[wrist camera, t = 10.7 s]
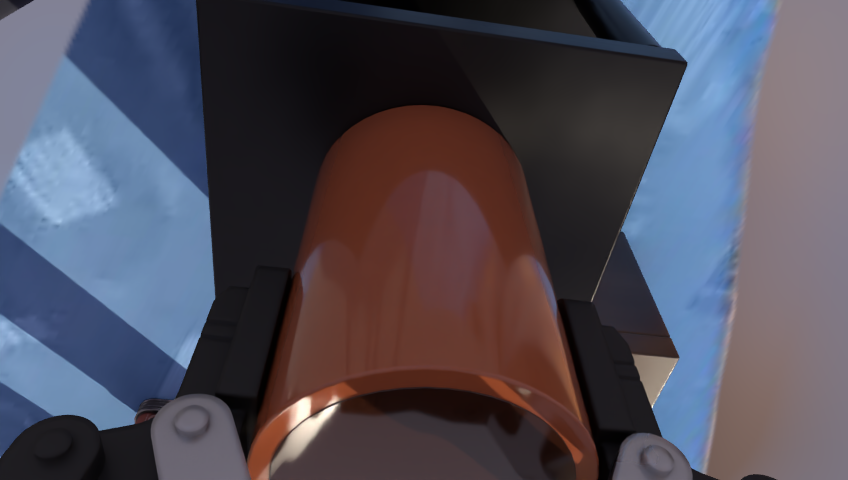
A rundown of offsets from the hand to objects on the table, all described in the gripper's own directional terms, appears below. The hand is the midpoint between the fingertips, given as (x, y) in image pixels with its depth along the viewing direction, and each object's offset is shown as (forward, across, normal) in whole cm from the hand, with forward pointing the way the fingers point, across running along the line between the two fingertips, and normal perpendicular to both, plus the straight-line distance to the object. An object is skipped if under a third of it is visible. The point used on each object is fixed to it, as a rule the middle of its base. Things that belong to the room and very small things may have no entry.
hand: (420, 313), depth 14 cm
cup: (+5, 0, 0) cm, 5 cm away
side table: (+17, 0, 0) cm, 17 cm away
